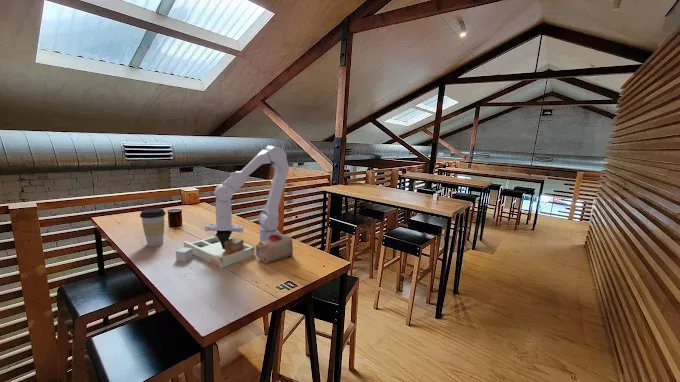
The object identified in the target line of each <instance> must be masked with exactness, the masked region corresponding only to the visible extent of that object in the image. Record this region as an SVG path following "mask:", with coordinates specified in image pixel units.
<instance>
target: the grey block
mask: <svg viewBox="0 0 680 382" xmlns="http://www.w3.org/2000/svg"><path fill="white" fill-rule="evenodd" d="M193 255H194V254H193V252H192V248H186V247H184V246H183V247H181V248H179V249H177V250H175V260H176V261H177V262H182V263H186V262H189V261H190V260H192V259H194V256H193Z"/></svg>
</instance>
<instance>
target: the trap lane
mask: <svg viewBox="0 0 680 382" xmlns="http://www.w3.org/2000/svg"><path fill="white" fill-rule="evenodd" d="M216 233H217V232H214V236H211V237H207V238H204V239H201V240H197V241H194V242H189V241H188V240H185V241H183V247H186V248H192V252H193V255H194V256H196V257H197V258H200V259H202V260H204V261H207V263H210V264H212V265H214V266H216V267H218V268H220V269H223V268H225V267H227V266H229V265H232V264H235V263H238V262H241V261H242V260H246V259H249V258H250V257H253V256H255V246H252V245H249V244H247V243H244V242H243V250H241V251H239V252H236V253H233V254H230V255H229V254H225V249H222V245H221V243H220V240H219V239H218V237H217V236H216ZM231 238H232V237H229V239H231Z"/></svg>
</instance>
